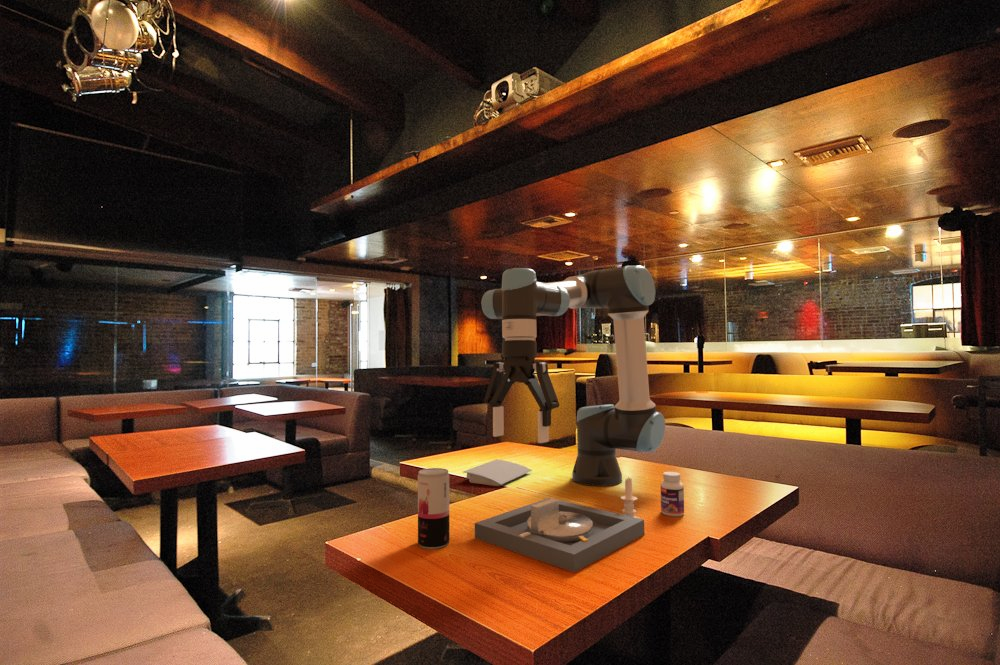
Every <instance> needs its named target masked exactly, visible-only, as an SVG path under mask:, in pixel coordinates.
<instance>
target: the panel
mask: <svg viewBox="0 0 1000 665" xmlns="http://www.w3.org/2000/svg"><path fill="white" fill-rule="evenodd" d="M549 499H554V498H553V497H547V498H545V499H544V498H543V499H541V500H538V501H536V502H532V503H529V504H527V505H523V506H521V507H518V508H514V509H512V510H509V511H506V512H503V513H500V514H497V515H494V516H491V517H489V518H485V519H483V520H479V521H477V522H474V539H476V540H480V541H482V542H486V543H488V544H491V545H494V546H496V547H500V548H502V549H505V550H508V551H511V552H514V553H516V554H520V555H522V556H526V557H529V558H531V559H535V560H537V561H541V562H542V563H543V562H544V563H546V564H549V565H551V566H555V567H558V568H560V569H562V570H563V569H564V570H566V571H569V572H572V573H576V572H579V571H580V570H583V569H584V568H586V567H587V566H590V565H591V564H593V563H594V562H597V561H598V560H600V559H602V558H605V557H606V556H607V555H610V554H611V553H613V552H615V551H617V550H618V549H622V548H623V547H624V546H627V545H628V544H630V543H632V542H633V541H636V540H637V539H640V537H642V536H644V535H645V519H642V518H640V517H638V518H635V517H631V516H626V515H625V514H623V513H622V514H621V513H619V512H617V513H616V512H612V511H608V510H605V509H604V510H603V509H601V508H600V509H599V508H595V507H591V506H586V505H583V504H578V503H574V502H570V501H565V500H562V499H556V498H555V499H556V500H559V511H561V512H572V513H577V514H581V515H584V516H586V517H588V518H590V519H591V520H592V522H593V534H592V535H591V536H590V537H588V538H585V537H584V536H578V538H579V539H581V541H577V542H567V543H560V542H557V541H553V540H550V539H547V538H543V537H540V536H537V535H534V534H531V533H530V532H528V530H527V520H528V518H529V517H531V506H532V505H535V504H538V503H540V502H543V501H546V500H549ZM639 518H640V519H639Z"/></svg>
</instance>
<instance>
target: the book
mask: <svg viewBox="0 0 1000 665" xmlns="http://www.w3.org/2000/svg"><path fill="white" fill-rule="evenodd" d="M532 471H533V470H532V469H530V468H528V467H526V466H524V465H522V464H520V463H516V462H512V461H508V460H503V459H493V460H491V461H488V462H486V463H482V464H479V465H476V466H475V467H471V468H469V469H467V470H466V469H465V470H463V471H462V473H466V479H468V481H469V483H471V484H479V485H480V484H481V485H485V486H486V485H487V486H493V487H501V486H503V485H505V484H507V483H510V482H512V481H514V480H516V479H518V478H520V477H522V476H524V475H527V473H529V472H530V473H531V472H532Z"/></svg>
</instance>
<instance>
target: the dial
mask: <svg viewBox="0 0 1000 665" xmlns="http://www.w3.org/2000/svg"><path fill="white" fill-rule="evenodd" d="M559 500H560V499H558V500H556V498H553V499H549V500H546V501H543V502H540V503H538V504H535V505H532V506H531V517H529V518H528V520H527V530H528V532H530V533H531V534H534V535H537V536H540V537H543V538H547V539H550V540H553V541H557V542H560V543H567V542H577V541H581V539H579V538H578V536H584V537H585V538H588V537H590V536H591V535H592V534H593V522H592V520H591V519H590V518H588V517H586V516H584V515H581V514H577V513H572V512H561V511H559Z"/></svg>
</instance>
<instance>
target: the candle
mask: <svg viewBox="0 0 1000 665" xmlns="http://www.w3.org/2000/svg"><path fill="white" fill-rule="evenodd" d="M624 483H625V484H624V485H625V486H624V495H622V496H620V499H621V500H623V501H624V502H623V506H624V508H622V514H623V515H626V516H631V517H635V518H639V519H641V518H640V517H639V516H635V515H636V513H637V510H636V509H634V508H635V503H634V502H635V501H637V500H638V497H636V496H635V495H634V496H633V481H632V478H631V477H629V476H628V477H627V478H625V480H624Z"/></svg>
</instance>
